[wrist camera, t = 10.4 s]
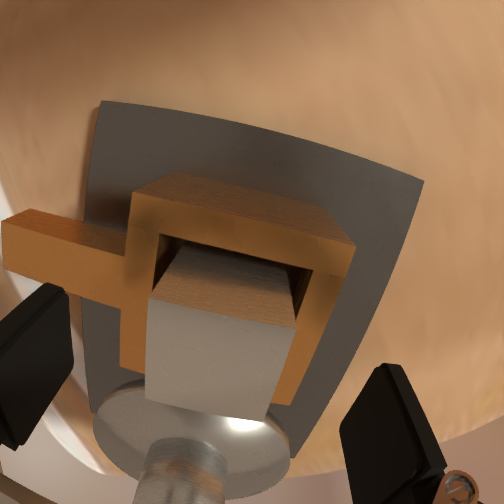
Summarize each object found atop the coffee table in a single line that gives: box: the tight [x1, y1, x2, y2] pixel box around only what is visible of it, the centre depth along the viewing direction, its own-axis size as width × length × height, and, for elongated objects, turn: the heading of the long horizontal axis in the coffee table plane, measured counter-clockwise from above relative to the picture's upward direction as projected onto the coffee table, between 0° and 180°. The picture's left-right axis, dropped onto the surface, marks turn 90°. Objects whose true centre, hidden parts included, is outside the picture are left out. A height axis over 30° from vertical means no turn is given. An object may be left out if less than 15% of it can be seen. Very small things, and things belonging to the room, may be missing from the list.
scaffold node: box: [1, 101, 424, 504], centre depth 13 cm, size 24×20×15 cm
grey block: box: [145, 240, 297, 422], centre depth 13 cm, size 4×4×9 cm
